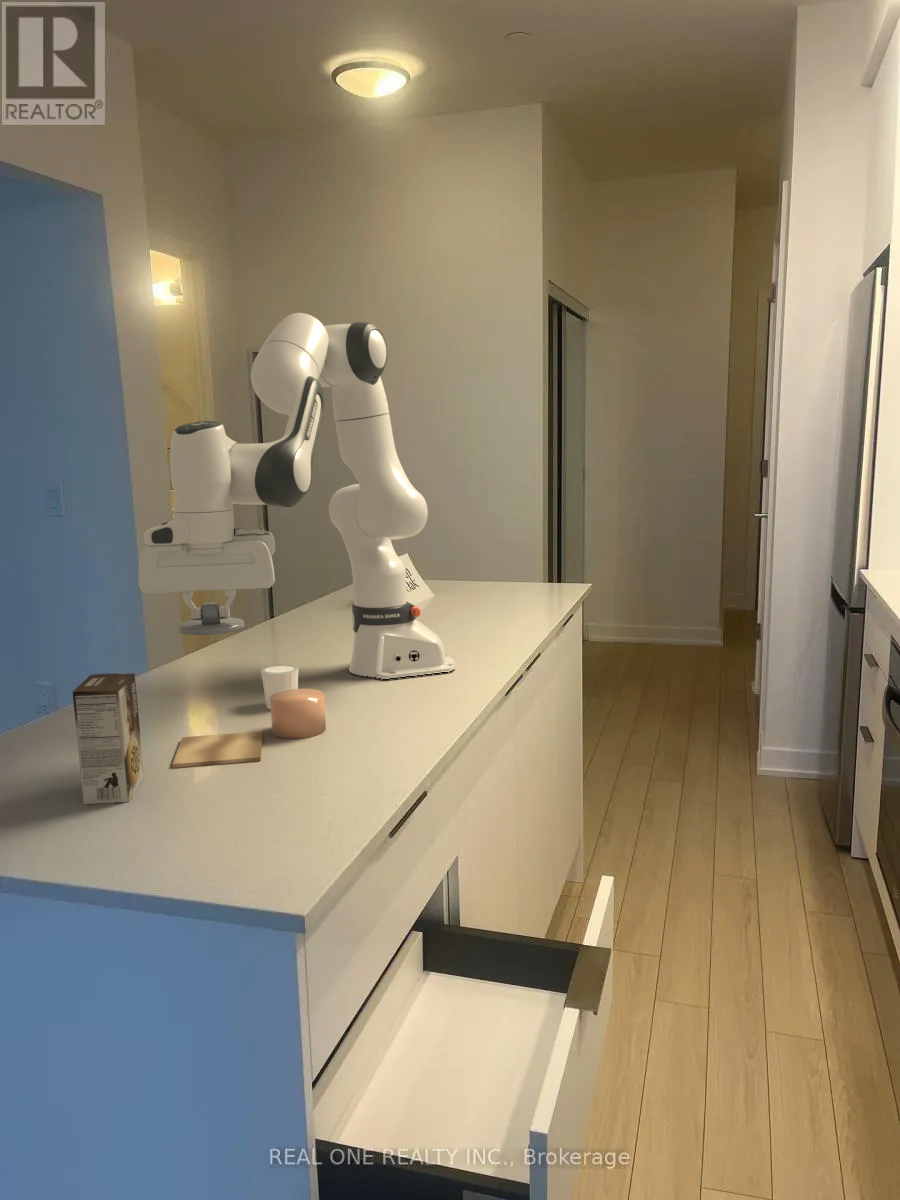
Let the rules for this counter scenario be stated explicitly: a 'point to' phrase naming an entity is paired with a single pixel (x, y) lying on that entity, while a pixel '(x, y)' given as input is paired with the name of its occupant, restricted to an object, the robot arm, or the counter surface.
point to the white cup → (278, 680)
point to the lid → (210, 622)
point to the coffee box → (108, 738)
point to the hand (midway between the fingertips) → (210, 619)
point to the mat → (219, 749)
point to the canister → (298, 713)
